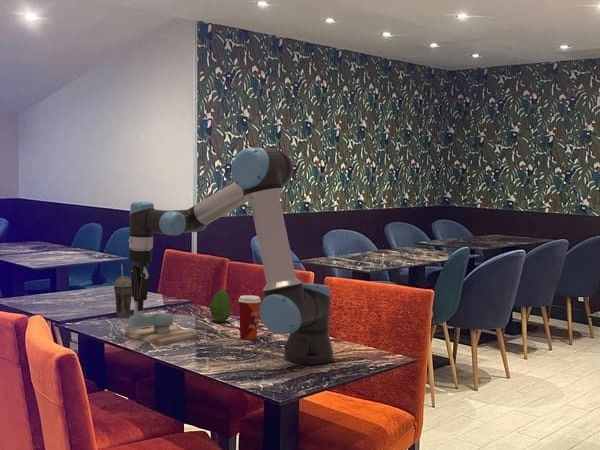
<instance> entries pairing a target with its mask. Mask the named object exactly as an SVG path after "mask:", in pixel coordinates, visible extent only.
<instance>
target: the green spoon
mask: <svg viewBox="0 0 600 450" xmlns="http://www.w3.org/2000/svg"><path fill="white" fill-rule="evenodd" d="M128 319H129V320H128V326H129V327H130V328H132V329H133V328H135V329H136V328H144V327H150V326H172V325H173V323H174V322H173V319H174V315H173V314H172V313H169V312H168V313H167V312H156V313H152V314H151V315H150V314H149V315H143V316H138V317H134V316H129V317H128Z"/></svg>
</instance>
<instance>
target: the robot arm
mask: <svg viewBox="0 0 600 450" xmlns="http://www.w3.org/2000/svg"><path fill="white" fill-rule="evenodd" d="M230 173H231V177H232V180H233V183H231V184H229V185H228V186H226V187H223V188H222V189H220V190H219V191H216V192H215V193H213V194H212V195H210V196H209V197H207V198H205V199H203V200H201V201H200V202H198V203H196V204H195V205H193V206H192V207H190V208H187V209H174V210H172V209H171V210H169V209H168V210H162V209H155V206H154V203H153V202H151V201H133V202H132V203H131V204H130V207H129V235H128V236H129V239H127V242H128V243H129V245H128V248H129V250H128V261H129V262H132V267H129V273H130V278H131V289H132V297H131V298H133V301H134V302H133V303H134V305H133V309H134V310H133V317H138V316H144V302H145V301H147V300H148V292H149V285H150V279H151V276H152V275H151V272H149V268H148V263H150V262H152V260H153V250H152V249H153V248H154V246H153V245H154V233H155V234H161V235H167V236H179V235H181V234H182V233H185V234H186V233H197V232H201V231H202V232H203V231H204V230H206V228H207V226H208V225H209V224H210V223H212V222H214V221H216V220H218V219H219V218H222V217H223V216H225V215H226V214H228V213H230V212H233V211H234V210H235V209H238V208H239V207H241V206H243V205H245V204H247V203H249V204H250V208H251V213H252V218H253V222H254V227H255V232H256V237H257V243H258V247H259V251H260V257H261V261H262V262H261V263H262V265H263V272H264V275H265V276H264V277H265V281H266V284H265V286H264V288H263V289H262V293H263V297H264V298H263V300H261V303H260V308H259V318H260V320H261V322H262V324H263V325H264V327H265V328H266V329H267V330H269V331H270V332H272V333H273V334H275V335H288V334H289V336H288V339H287V340H286V344H285V347H284V350H283V358H284V360H285V361H288V362H292V363H295V364H300V365H323V364H324V365H325V364H329V363H330V362H332V361H333V360H334V349H333V346H332V342H331V338H330V333H329V331H330V309H331V299H332V298H331V289H330V286H328V285H326V284H325V285H324V284H320V283H309V282H303V281H301V280H300V279H299V278H298V277H297V276H296V272H295V267H294V263H293V257H292V253H291V252H292V251H291V247H290V242H289V238H288V232H287V228H286V224H285V219H284V214H283V210H282V208H283V207H282V204H281V198H280V197H281V194H282V193H283V191H284V188H283V187H285V186H286V185H287V184H288V183H290V181H291V179H292V178H293V173H294V165H293V161H292V159H291V158H290V156H289V155H288V154H287V153H285V152H284V151H283V150H280V149H276V148H272V149H271V148H262V147H258V146H257V147H256V146H255V147H247V148H244V149H242V150H240V151H239V152H238V153H237V154H236V156H235V158H234V159H233V161H232V163H231V172H230Z"/></svg>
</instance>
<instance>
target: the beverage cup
mask: <svg viewBox="0 0 600 450" xmlns="http://www.w3.org/2000/svg"><path fill="white" fill-rule="evenodd" d="M120 265H121V266H120V269H121V270H120V271H121V275H120V276H119V277H117V278H116V279H115V281H114V285H113V290H114V299H115V314H116V318H119V319H129V317H130V314H131V304H132V298H133V297H132V289H131V276H130V277H129V276H127V275H124V267H123V264H122V263H121V264H120Z"/></svg>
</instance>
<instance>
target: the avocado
mask: <svg viewBox="0 0 600 450" xmlns="http://www.w3.org/2000/svg"><path fill="white" fill-rule="evenodd" d="M212 297H213V298H212V299H211V301H210V304H209V313H210V315H211V317H212V319H213V320H215V321H216V322H218V323H223V322H226V321H227V320H228V319H229V318H230V317H231V313H232V304H231V300H230V298H229V293H228V292H227V291H226V290H225V289H220V290H217V291H216V292H215V294H214V295H213V296H212Z"/></svg>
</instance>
